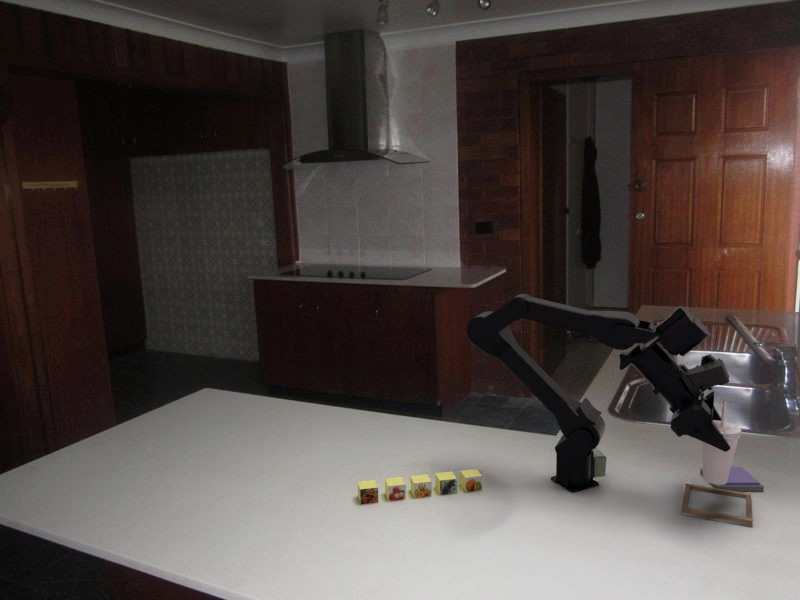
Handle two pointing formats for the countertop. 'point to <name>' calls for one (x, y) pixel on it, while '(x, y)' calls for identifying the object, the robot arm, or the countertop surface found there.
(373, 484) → the fruit picture blocks
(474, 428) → the countertop surface
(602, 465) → the medication box
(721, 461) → the smoothie
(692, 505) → the marked square
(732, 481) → the ink pad
